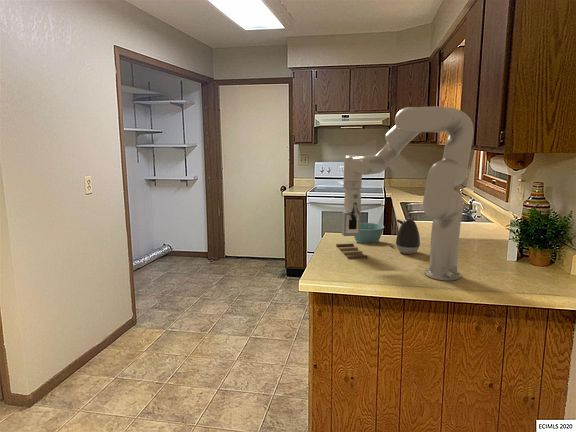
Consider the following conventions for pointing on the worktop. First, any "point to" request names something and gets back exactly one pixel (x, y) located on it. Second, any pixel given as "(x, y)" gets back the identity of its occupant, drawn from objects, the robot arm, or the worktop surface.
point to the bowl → (369, 233)
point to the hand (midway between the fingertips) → (351, 227)
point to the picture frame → (345, 224)
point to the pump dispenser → (408, 237)
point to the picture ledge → (350, 251)
